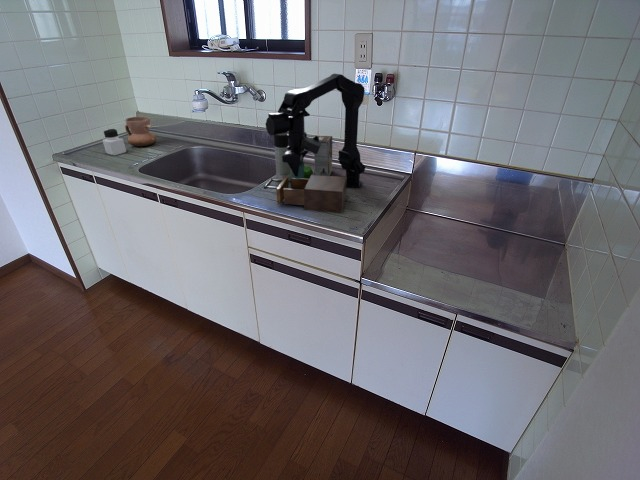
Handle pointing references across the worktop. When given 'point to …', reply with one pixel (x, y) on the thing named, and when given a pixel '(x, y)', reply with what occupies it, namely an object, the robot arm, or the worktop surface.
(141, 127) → the ceramic jug
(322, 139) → the coffee box
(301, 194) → the drawer
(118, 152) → the medicine bottle
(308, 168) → the bell pepper
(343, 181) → the cabinet
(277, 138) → the spray can
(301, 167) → the tea tin
